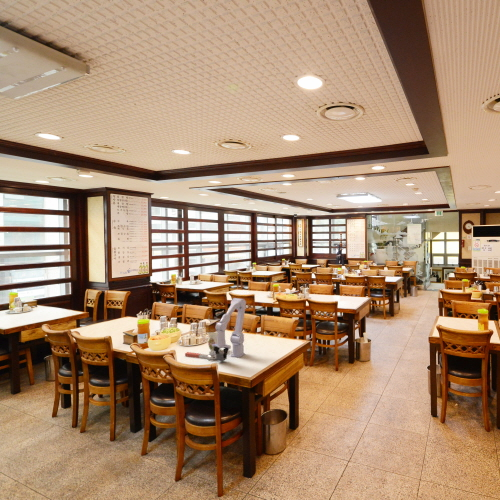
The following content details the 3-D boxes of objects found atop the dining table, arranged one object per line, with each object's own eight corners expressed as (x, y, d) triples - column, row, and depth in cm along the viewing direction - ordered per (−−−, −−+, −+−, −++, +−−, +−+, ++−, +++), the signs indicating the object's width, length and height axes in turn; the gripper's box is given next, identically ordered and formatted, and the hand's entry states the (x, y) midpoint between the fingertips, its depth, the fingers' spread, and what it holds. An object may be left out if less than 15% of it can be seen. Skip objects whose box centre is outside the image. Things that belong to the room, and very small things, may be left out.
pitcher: (222, 353, 272) (222, 336, 272) (202, 351, 280) (202, 334, 279) (228, 349, 282) (228, 332, 282) (209, 347, 290) (209, 330, 289)
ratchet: (183, 357, 266) (183, 350, 266) (189, 353, 273) (189, 347, 273) (214, 361, 256) (214, 353, 255) (219, 357, 263) (219, 350, 263)
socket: (220, 357, 257) (219, 351, 257) (226, 358, 255) (226, 351, 255) (216, 360, 252) (216, 353, 252) (223, 361, 250) (223, 354, 249)
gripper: (209, 339, 252) (210, 358, 252) (227, 341, 246) (228, 360, 247) (214, 337, 258) (214, 355, 259) (231, 338, 253) (232, 357, 253)
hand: (221, 357), depth 253 cm, fingers closed on socket, 6 cm apart
